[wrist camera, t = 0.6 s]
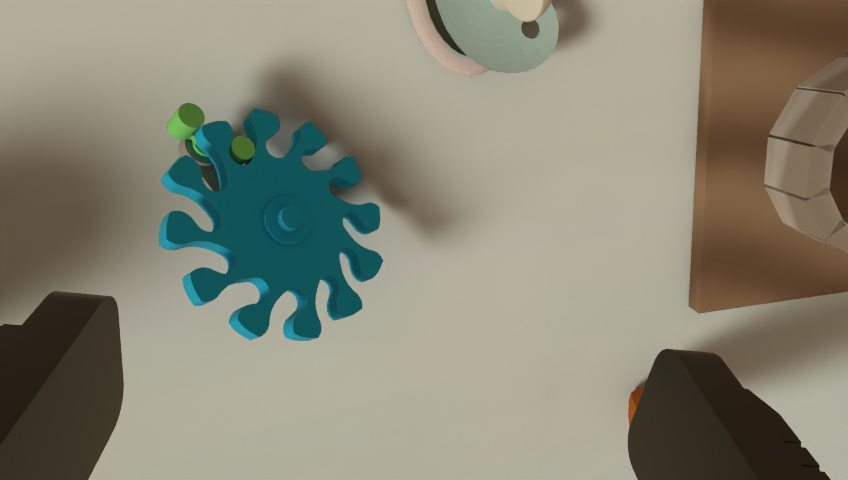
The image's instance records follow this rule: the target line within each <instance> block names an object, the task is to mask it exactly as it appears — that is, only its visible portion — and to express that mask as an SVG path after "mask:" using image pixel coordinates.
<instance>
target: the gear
mask: <svg viewBox="0 0 848 480" xmlns="http://www.w3.org/2000/svg"><path fill="white" fill-rule="evenodd" d="M204 119H205V118H204V113H203V111H202V110H201V109H200V108H199V107H198V106H197V105H195V104H191V103H186V104H183V105H182V106H180V108H179V109H178V110H177V111H176V112H175V114H174V115H173V116H172V117H171V118H170V120H169V121H168V124H167V128H168V131H169V133H170V134H171V135H172V136H173V137H175V138H176V139H179V140H181V141H180V144H179V152H180V155H181V157H180V158H179V159H178V160H177V161H176V162H175V163H174V164H173V165H172V166H171V167H170V168H169V170H168V171H167V172H166V173H165V175H164V176H163V178H162V179H161V181H162V184H163V185H164V186H165V187H166V188H167V189H168V190H169V191H172V192H174V193H178V194H181V195H184V196H186V197H188V198H190V199H192V200H193V201H195V202H196V203H197V204H198V205H200V206H201V208H202V209H203V210H204V211H205V212H206V213H207V215H208V216H209V217H210V218H211V220H212V222H213V231H212V232H206V231H203V230H202V229H200V228H199V227H198V225H197V224H196V223H195V222H194V220H193V219H192V218H191V217H190V216H189V215H188V214H186V213H184V212H181V211H172V212H170V213H169V214H168V215H167V216H166V217H164V219H163V221H162V223H161V226H160V232H159V245H160V246H162V247H163V248H165V249H168V250H177V249H180V248H184V247H202V248H206V249H209V250H211V251H214V252H216V253H218V254H220V255H222V256H223V257H224V258H225V259H226V260H227V263H228V271H227V273H226V274H222V273H219V272H217V271H214V270H212V269H209V268H198V269H196V270H194V271H192V272H191V273H189V274H188V275H186V276H185V277H184V278H183V285H184V288H185V291H186V293H187V295H188V297H189V299H190V301H191V302H192V304H193V305H194V306H200V305H204V304H206V303H208V302H210V301H212V300H214V299H215V298H217V297H218V295H219V294H220V293H221V291H222V290H224V289H225V288H226V287H227V286H228V285H231V284H235V283H242V282H250V283H253V284H254V285H256V286H257V288H258V290H259V292H260V298H259V301H258V303H257V304H250V305H247V306H245V307H242V308H240V309H238V310H236V311H235V312H234V313H233V314H232V315H231V317H230V319H229V324H230V325H231V327H232V328H233V329H234V330H235V331H236V332H238V333H239V334H240V335H242V336H244V337H245V338H247V339H249V340H252V339H255V338H258V337H260V336H262V335H263V334H264V333H266V331H267V329H268V327H269V319H270V314H271V311H272V308H273V306H274V304H275V303H276V301H277V300H278V298H279V297H280V296H281V295H282V294H283V293H285V292H286V291H289V292H291V293H292V294H294V296H295V297H296V299H297V309H296V311H295V312H294V313H293V314H292V315H291V316H290V317H289V318H288V319H287V320H286V321H285V323H284V327H283V331H284V335H285V337H286V338H288V339H291V340H297V341H308V340H312V339H315V338H318V337H319V335H320V333H321V323H320V320H319V318H318V315H317V311H316V305H315V299H316V292H317V288H318V284H319V281H320V279H321V280H323V281H325V282H326V283H327V284H328V286H329V289H330V294H329V298H328V302H327V312H328V314H329V316H330V318H331V319H332V320H339V319H342V318H345V317H348V316H351V315H353V314H355V313H356V312H358V311H359V310H361V309H362V301H361V299H360V297H359V296H358V294H357V293H355V292H354V291H353V290H352V289H351V287H350V286H349V285H348V283H347V282H346V280H345V278H344V276H343V273H342V269H341V265H340V260H339V254H340V252H341V253H343V254H344V255H345V256H346V257H347V259H348V261H349V265H350V270H351V273H352V275H353V276H354V278H355V279H356V280H358V281H360V282H364V281H367V280H369V279H372V278H373V277H374V276H375V275H376V274H377V273H378V271H379V269H380V267H381V265H382V262H383V260H382V258H381V256H380V255H379V254H378V253H377V252H375V251H372V250H368V249H366V248H364V247H362V246H360V245H359V244H358V243H357V242H355V241H354V240H353V238H352V237H351V236H350V235H349V233H348V232H347V231H346V229H345V228H344V226H343V218H345V219H347V220H348V221H349V222H350V223H351V225H352V226H353V228H354V229H355V230H356V231H357V232H359V233H361V234H368V233H371V232H373V231H375V230H377V229H378V228H379V225H380V211H379V207H378V206H377V205H376V204H374V203H366V204H362V205H353V204H350V203H347V202H344V201H342V200H341V199H339V198H337V197H335V196H334V195H333V194H332V193H331V191H330V189H329V183H331V184H333V185H335V186H337V187H339V188H341V189H348V188H350V187H352V186H354V185H355V184H357V183H359V182H360V181H361V180H362V178H361V173H360V170H359V168H358V166H357V164H356V162H355V160H354V159H353V158H352V157H345V158H343V159H342V160H340V161H339V162H337V163H336V164H334V165H333V166H332V167H331V169H330V170H326V171H311V170H309V169H307V168H306V167H305V166H304V164H303V162H302V156H310V155H313V154H314V153H316V152H317V151H318V150H320V149H321V148H323V147H324V146H325V144H326V138H325V136H324V135H323V134H322V133H321V132H320V131H319V130H318V129H317V128H316V127H315V126H314V125H312V124H311V123H310V122H307V123H305V124H304V125H302V126H301V127H300V128H299V129H298V130H296V131H295V132H294V134H293V136H292V144H291V147H290V149H289V152H288V153H287V154H286V156H285V157H283V158H275V157H273V156H271V155H270V154H269V153H268V151H267V149H266V141H267V140H268V139H269V138H270V137H271V136H273V135H274V134H275V133H276V132H277V131H278V130H279V127H280V122H279V118H278V117H277V116H275V115H274V114H271V113H269V112H266V111H262V110H258V109H254V110H253V111H252V112H251V113H250V114H249V115H248V116H247V117H246V118H245V120H244V124H243V126H244V130H245V133H246V135H247V137H245V136H237V137H235V138H234V139H233V130H232V128H231V126H230V125H229V123H228V122H226V121H216V122H212V123H208V124H206V125H203V126H202V127H200V126H201V125H202V124H203V123H204ZM244 163H245V165H243V164H244Z"/></svg>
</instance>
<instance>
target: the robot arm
mask: <svg viewBox="0 0 848 480" xmlns="http://www.w3.org/2000/svg"><path fill="white" fill-rule="evenodd" d="M123 388H124V383H123V368H122V355H121V342H120V328H119V315H118V307H117V303H116V301H115V299H114V298H113V297H111V296H101V295H91V294H80V293H69V292H58V291H54V292H52V293H50V294H49V295H48V296H47V297H46V298H45V299H44V300H43V301H42V302H41V303H40V305H39V306H38V307H37V308H36V309H35V310H34V312H33V313H32V314H31V315H30V316H29V317H28V319H27V320H26V321H25V322H24V323H23V324H22V325H10V324H4V325H2V326H0V480H88V479H89V477H90V475H91V473H92V471H93V469H94V467H95V465H96V463H97V461H98V459H99V457H100V455H101V453H102V452H103V450H104V448H105V446H106V444H107V442H108V440H109V438H110V436H111V434H112V432H113V430H114V428H115V426H116V423H117V420H118V417H119V414H120V410H121V405H122V399H123ZM628 452H629V458H630V462H631V465H632V467H633V470H634V472H635V474H636V477H637V479H638V480H830V478H829V477H828V476H827V475H826V473H825V472H820V470H819V464H818V463H817V462H816V460H815V459H814V458H813V457H812V455H811V454H810V453H809V451H808V450H807V449H806V448H802V447H801V441H800V440H799V439H798V437H797V436H796V435H795V434H794V432H793V431H792V430H791V428H790V427H789V426H788V425H787V423H786V422H785V421H784V419H783V418H782V417H781V416H780V414H779V413H777V412H776V411H775V410H774V409H772V408H771V407H770V406H769V405H767V404H766V403H765V402H764V401H762V400H761V399H760V398H758V397H757V396H756V395H755V394H753V393H752V392H751V391H750V390H748V389H744V388H743V387H742V385H741V384H740V383H739V381H738V380H737V379H736V377H735V376H734V375H733V373H732V372H731V371H730V369H729V368H728V367H727V365H726V364H725V363H724V361H723V360H722V359H721V358H720V357H719V356H718V355H716V354H714V353H706V352H695V351H684V350H673V349H665V350H663V351H661V352H660V353H659V354H658V356H657V357H656V359H655V361H654V364H653V366H652V369H651V372H650V374H649V377H648V379H647V382H646V385H645V387H644V390H643V392H642V395H641V398H640V400H639V403H638V405H637V408H636V411H635V413H634V416H633V418H632V421H631V424H630V428H629V433H628Z"/></svg>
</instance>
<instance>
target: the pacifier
mask: <svg viewBox="0 0 848 480" xmlns="http://www.w3.org/2000/svg"><path fill="white" fill-rule="evenodd" d="M435 1H436V5H437V8H438V11H439V13H440V16H441V18H442V21H443V23H444V25H445V27H446V29H447V31H448V33H449V34H450V36H451V37H452V39H453V40H454V41H455V43H456V44H457V46H458V47H459V48H460V49H461V50H462V51H463V52H464V53H465V54H466V55H467V56H466V55H462V54H460V53H458V52H457V51H455V50H453V49H452V48H451V47H450V46H449V45H448V44H447V43H446V42H445V41H444V40H443V38H442V37H441V35H440V34H439V33H438V31H437V30H436V28H435V25H434V23H433V21H432V19H431V17H430V14H429V10H428V7H427V3H426V0H407V6H408V9H409V13H410V16H411V20H412V23H413V25H414V27H415V29H416V32H417V34H418V36H419V38H420V40H421V42H422V43H423V44H424V46H425V47H426V49H427V50H428V51H429V53H430V54H431V55H432V57H434V58H435V59H436V60H437V61H438V62H439V63H440V64H441V65H442V66H443V67H445V68H447V69H449V70H450V71H452V72H454V73H456V74H459V75H465V76H474V75H479V74H483V73H484V72H485V71H487V70H488V69H489V70H493V71H497V72H506V73H519V72H524V71H528V70H531V69H533V68H536V67H537V66H539V65H540V64H542V63H543V62H545V60H546V59H547V58H548V57H550V55H551V54H552V52H553V51H554V49H555V46H556V43H557V41H558V33H559V24H558V19H557V16H556V12H555V9H554V7H553V5H552V4H551V3H552V0H435ZM533 20H535V21H536V22H537V23H538V25H539V33H538V35H537V36H536V37H534V38H527V37H526V36H524V34H523V33H522V30H521V26H522V23H523V22H524V21H525V22H531V21H533Z"/></svg>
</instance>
